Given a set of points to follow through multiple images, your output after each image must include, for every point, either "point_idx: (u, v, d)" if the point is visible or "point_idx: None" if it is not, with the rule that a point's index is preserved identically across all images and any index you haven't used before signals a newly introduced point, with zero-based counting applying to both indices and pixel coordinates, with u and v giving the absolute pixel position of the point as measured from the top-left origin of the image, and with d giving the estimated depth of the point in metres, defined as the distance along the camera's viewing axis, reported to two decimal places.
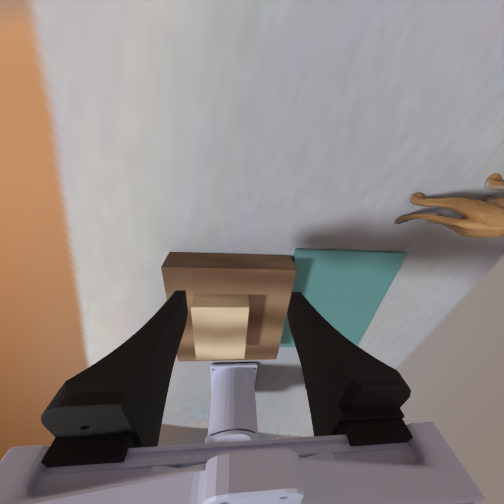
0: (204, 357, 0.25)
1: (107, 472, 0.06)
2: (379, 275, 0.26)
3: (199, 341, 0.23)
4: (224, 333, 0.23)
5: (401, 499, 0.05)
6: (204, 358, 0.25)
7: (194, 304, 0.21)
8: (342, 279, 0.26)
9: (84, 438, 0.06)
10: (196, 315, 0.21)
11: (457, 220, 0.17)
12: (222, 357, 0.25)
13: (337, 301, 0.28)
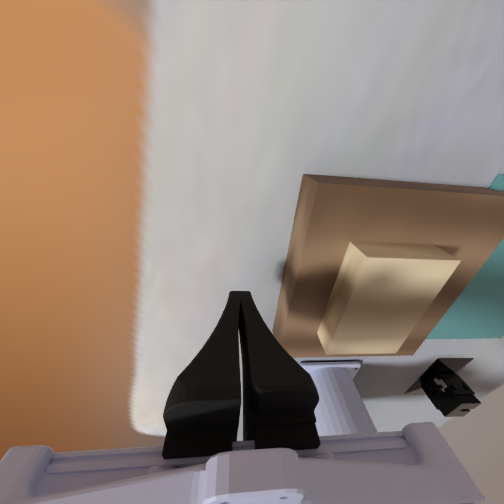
0: (339, 350, 0.16)
1: (107, 472, 0.06)
2: None
3: (346, 323, 0.14)
4: (393, 309, 0.14)
5: (401, 499, 0.05)
6: (339, 352, 0.16)
7: (368, 254, 0.12)
8: None
9: (194, 432, 0.07)
10: (368, 274, 0.12)
11: None
12: (365, 351, 0.16)
13: None
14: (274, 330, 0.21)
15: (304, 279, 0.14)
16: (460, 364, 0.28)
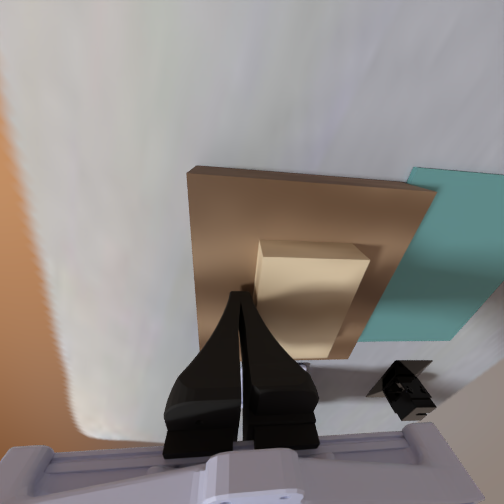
0: None
1: (107, 472, 0.06)
2: None
3: None
4: (310, 312, 0.13)
5: (401, 499, 0.05)
6: None
7: (268, 253, 0.11)
8: (471, 230, 0.16)
9: (195, 432, 0.07)
10: (269, 274, 0.11)
11: None
12: (293, 355, 0.15)
13: (449, 269, 0.18)
14: None
15: (203, 279, 0.13)
16: (419, 366, 0.27)
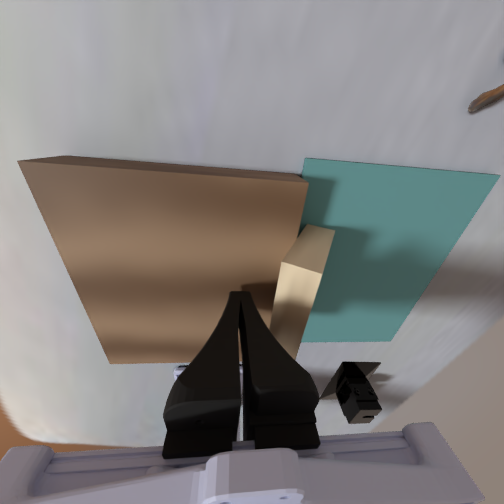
0: None
1: (107, 472, 0.06)
2: (445, 219, 0.15)
3: None
4: None
5: (401, 499, 0.05)
6: None
7: (315, 268, 0.10)
8: (382, 225, 0.15)
9: (194, 432, 0.07)
10: None
11: None
12: None
13: (370, 267, 0.17)
14: None
15: (80, 277, 0.13)
16: (369, 367, 0.26)
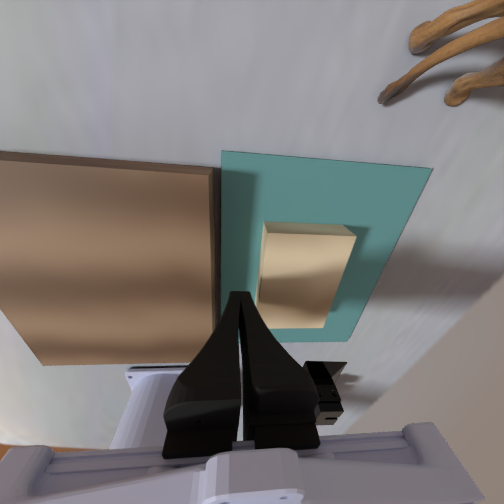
0: None
1: (107, 472, 0.06)
2: (381, 215, 0.15)
3: None
4: None
5: (401, 499, 0.05)
6: None
7: (341, 226, 0.15)
8: (316, 221, 0.15)
9: (194, 432, 0.07)
10: None
11: None
12: None
13: None
14: None
15: None
16: (334, 368, 0.25)
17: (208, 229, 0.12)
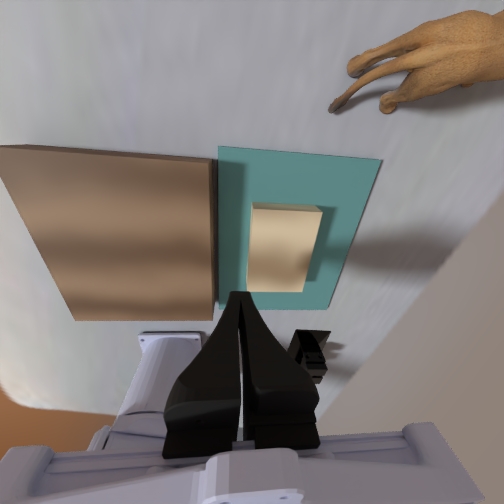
0: None
1: (107, 472, 0.06)
2: (345, 197, 0.19)
3: None
4: None
5: (401, 499, 0.05)
6: None
7: (312, 206, 0.19)
8: (293, 202, 0.19)
9: (194, 432, 0.07)
10: None
11: (403, 56, 0.10)
12: None
13: None
14: None
15: (41, 240, 0.16)
16: (320, 335, 0.29)
17: (208, 204, 0.16)
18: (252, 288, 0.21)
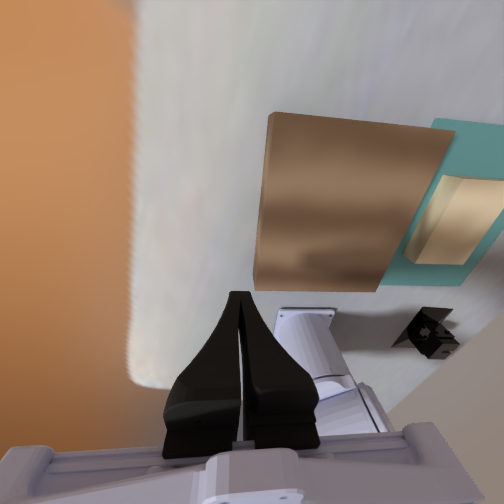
0: None
1: (107, 472, 0.06)
2: None
3: None
4: None
5: (401, 499, 0.05)
6: None
7: (498, 179, 0.20)
8: (479, 175, 0.20)
9: (194, 432, 0.07)
10: None
11: None
12: None
13: None
14: (253, 271, 0.23)
15: (271, 207, 0.17)
16: (442, 313, 0.30)
17: (434, 172, 0.17)
18: (421, 260, 0.22)
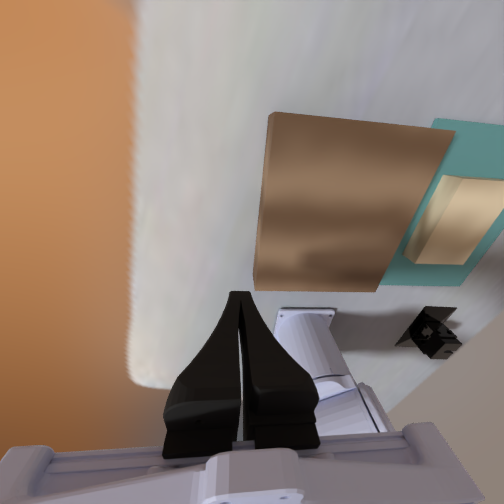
0: None
1: (107, 472, 0.06)
2: None
3: None
4: None
5: (401, 499, 0.05)
6: None
7: (498, 179, 0.20)
8: (479, 175, 0.20)
9: (194, 432, 0.07)
10: None
11: None
12: None
13: None
14: (253, 271, 0.23)
15: (271, 207, 0.17)
16: (445, 313, 0.30)
17: (434, 172, 0.17)
18: (421, 260, 0.22)
